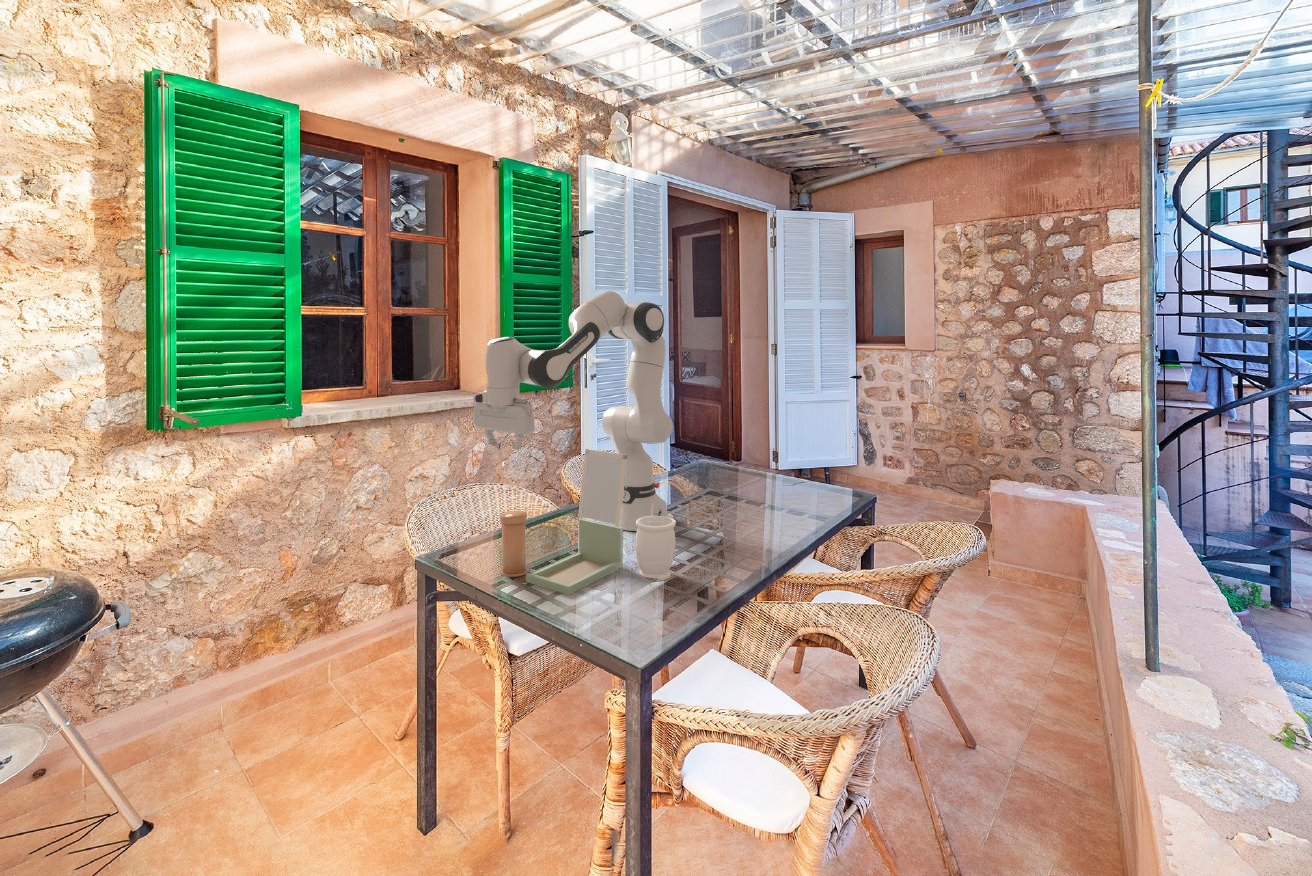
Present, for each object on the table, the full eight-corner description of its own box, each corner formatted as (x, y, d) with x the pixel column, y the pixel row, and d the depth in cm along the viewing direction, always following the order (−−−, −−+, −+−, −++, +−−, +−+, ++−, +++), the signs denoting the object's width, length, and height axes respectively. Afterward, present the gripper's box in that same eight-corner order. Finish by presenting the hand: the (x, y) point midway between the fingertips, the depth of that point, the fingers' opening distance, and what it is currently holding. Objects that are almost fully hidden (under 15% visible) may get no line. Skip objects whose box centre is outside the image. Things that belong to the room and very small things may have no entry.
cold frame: (581, 559, 179) (581, 518, 177) (622, 570, 171) (622, 527, 169) (526, 585, 160) (525, 539, 158) (568, 598, 153) (568, 550, 151)
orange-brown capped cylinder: (513, 563, 172) (512, 509, 169) (533, 568, 168) (532, 513, 166) (495, 571, 166) (494, 515, 163) (515, 576, 162) (513, 520, 160)
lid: (577, 517, 175) (579, 517, 175) (618, 526, 168) (619, 526, 168) (585, 448, 174) (587, 449, 175) (626, 455, 167) (627, 455, 168)
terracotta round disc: (514, 567, 172) (514, 562, 172) (535, 573, 168) (535, 568, 168) (493, 575, 166) (493, 571, 166) (514, 582, 162) (514, 577, 162)
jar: (648, 565, 175) (649, 512, 173) (681, 573, 170) (683, 519, 167) (627, 578, 166) (627, 522, 164) (661, 586, 161) (662, 529, 158)
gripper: (539, 399, 171) (540, 449, 174) (486, 394, 182) (487, 441, 184) (522, 401, 166) (523, 453, 168) (468, 395, 177) (470, 444, 179)
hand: (504, 447), depth 176 cm, fingers open, 8 cm apart
